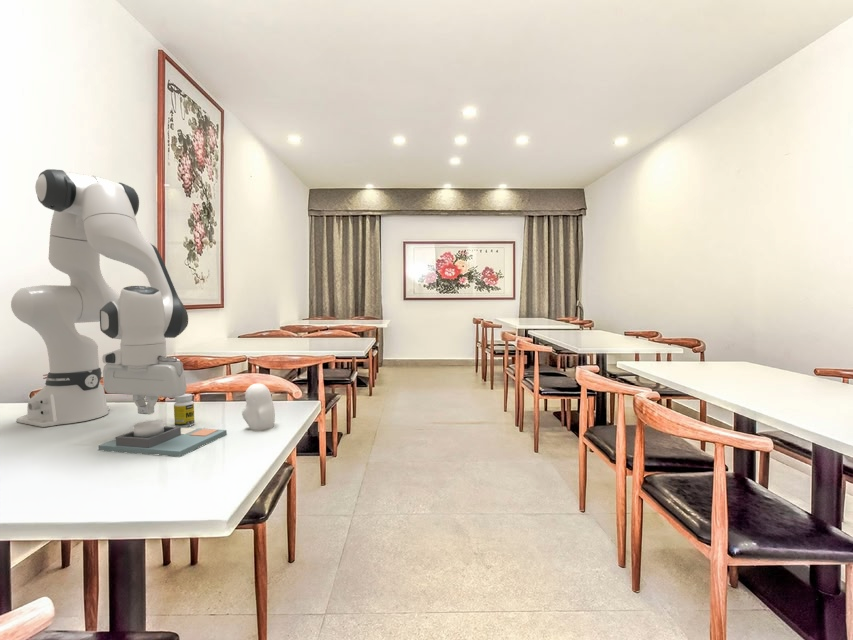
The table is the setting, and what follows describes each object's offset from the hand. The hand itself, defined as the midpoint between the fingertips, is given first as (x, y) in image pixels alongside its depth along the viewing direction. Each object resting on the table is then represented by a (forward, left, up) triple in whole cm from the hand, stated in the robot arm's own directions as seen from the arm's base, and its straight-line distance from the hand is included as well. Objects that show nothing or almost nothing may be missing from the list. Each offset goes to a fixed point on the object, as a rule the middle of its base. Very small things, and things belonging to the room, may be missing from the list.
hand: (146, 413), depth 98 cm
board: (+3, +2, -8) cm, 8 cm away
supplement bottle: (-3, +15, -8) cm, 17 cm away
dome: (+1, 0, -6) cm, 6 cm away
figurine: (+19, +17, -8) cm, 26 cm away
